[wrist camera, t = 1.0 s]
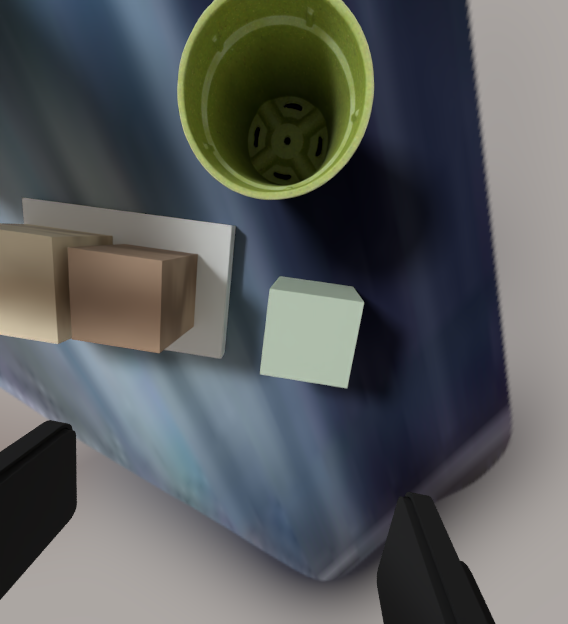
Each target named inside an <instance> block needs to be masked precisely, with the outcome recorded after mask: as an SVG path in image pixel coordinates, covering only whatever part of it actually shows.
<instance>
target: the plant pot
mask: <svg viewBox="0 0 568 624" xmlns="http://www.w3.org/2000/svg"><path fill="white" fill-rule="evenodd" d="M177 94H178V107H179V114H180V119H181V123H182V127H183V130H184V134H185V136H186V138H187V140H188V142H189V145H190V147H191V149H192V150H193V152H194V154H195V155H196V157H197V159H198V160H199V161H200V163H201V164H202V166H203V167H204V168H205V169H206V170H207V171H208V172H209V173H210V174H211V175H212V176H213V177H214V178H215V179H216V180H217V181H219V182H220V183H221V184H223V185H224V186H226V187H228V188H229V189H231V190H233V191H235V192H237V193H239V194H242V195H245V196H248V197H252V198H257V199H265V200H279V199H287V198H293V197H297V196H300V195H303V194H306V193H308V192H311V191H313V190H315V189H317V188H318V187H320V186H322V185H323V184H325V183H326V182H327V181H329V180H330V179H331V178H333V177H334V176H335V175H336V174H337V173H338V172H339V171H340V170H341V169H342V168H343V167H344V166H345V165H346V163H347V162H348V161H349V160H350V158H351V157H352V155H353V154H354V152H355V151H356V149H357V148H358V146H359V144H360V142H361V140H362V138H363V136H364V133H365V130H366V128H367V125H368V122H369V118H370V114H371V109H372V103H373V96H374V73H373V64H372V59H371V54H370V51H369V47H368V44H367V41H366V38H365V36H364V34H363V31H362V29H361V27H360V25H359V24H358V22H357V20H356V18H355V17H354V15H353V14H352V12H351V11H350V10H349V8H348V7H347V6H346V5H345V4H344V2H343V1H342V0H214V1H213V3H212V4H211V5H210V6H208V8H207V9H206V10H205V11H204V12H203V14H202V16H201V17H200V18H199V20H198V22H197V23H196V25H195V27H194V29H193V31H192V33H191V34H190V36H189V38H188V41H187V43H186V45H185V48H184V51H183V54H182V58H181V61H180V67H179V74H178V86H177ZM290 103H296V104H299V105H300V106H302V111H298V110H295V109H291V108H287V107H286V108H284V106H285V105H286V104H290ZM257 127H259V128H260V132H259V137H258V147H257V148H256V147H255V146H254V133H255V130H256V128H257ZM286 137H289V138H290V140H291V142H290V144H289V145H286V144H285V143H284V139H285V138H286ZM319 137H321V138H322V139H323V141H322V151H321V154H320V155H319V156H318V157H316V151H317V147H318V138H319ZM274 172H277V173H280V174H283V175H291V176H292V177H291V178H290V179H288V180H284V179H279V178H276V177H275V176H274V175H273V174H274Z"/></svg>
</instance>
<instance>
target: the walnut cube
mask: <svg viewBox="0 0 568 624" xmlns="http://www.w3.org/2000/svg"><path fill="white" fill-rule="evenodd" d="M197 262H198V254H193V253H186V252H179V251H172V250H164V249H157V248H150V247H143V246H136V245H129V244H115V245H99V246H82V247H68V268H69V289H70V310H71V331H72V339H73V340H80V341H86V342H92V343H98V344H105V345H111V346H117V347H123V348H130V349H136V350H142V351H148V352H155V353H161V352H162V351H163V350H164V349H166V348H167V347H168V346H170V345H171V344H172V343H173V342H175V341H176V340H177V339H179V338H180V337H181V336H182V335H184V334H185V333H186V332H187V331H189V330H190V329H191V328H193V327H194V315H195V297H196V280H197Z"/></svg>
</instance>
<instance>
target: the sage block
mask: <svg viewBox="0 0 568 624" xmlns="http://www.w3.org/2000/svg"><path fill="white" fill-rule="evenodd" d="M363 306H364V301H363V300H362V299H361V297H360V296H359V294H358V293H357V292H356V290H355V289H354V287H352V286H345V285H338V284H331V283H324V282H316V281H309V280H302V279H295V278H288V277H281V276H280V277H279V278H278V279H277V280H276V282H275V283H274V284H273V285H272V287H271V288H270V292H269V300H268V308H267V317H266V325H265V334H264V342H263V351H262V359H261V367H260V374H262V375H268V376H274V377H280V378H286V379H293V380H299V381H305V382H311V383H317V384H324V385H330V386H336V387H342V388H347V386H348V381H349V376H350V371H351V366H352V361H353V356H354V351H355V346H356V341H357V336H358V331H359V326H360V321H361V316H362V311H363Z"/></svg>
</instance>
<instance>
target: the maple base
mask: <svg viewBox="0 0 568 624" xmlns="http://www.w3.org/2000/svg"><path fill="white" fill-rule="evenodd" d="M99 245H113V236H110V235H103V234H96V233H89V232H81V231H74V230H67V229H60V228H53V227H45V226H38V225H31V224H1V223H0V335H6V336H12V337H18V338H24V339H30V340H36V341H43V342H49V343H55V344H59V343H61V342H64V341H66V340H68V339H71V338H72V331H71V310H70V289H69V268H68V247H82V246H99Z"/></svg>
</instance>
